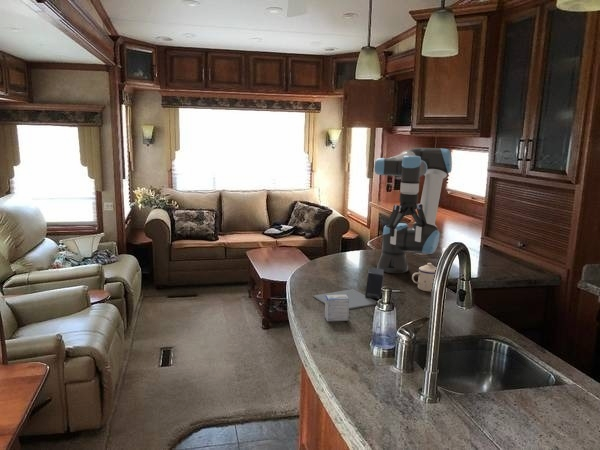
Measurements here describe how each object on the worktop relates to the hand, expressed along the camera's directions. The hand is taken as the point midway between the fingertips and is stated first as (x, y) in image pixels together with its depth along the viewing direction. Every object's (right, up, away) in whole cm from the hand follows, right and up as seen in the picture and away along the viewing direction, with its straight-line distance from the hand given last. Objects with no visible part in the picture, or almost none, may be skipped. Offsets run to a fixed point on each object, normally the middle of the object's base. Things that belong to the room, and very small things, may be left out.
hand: (405, 242), depth 202 cm
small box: (-14, -22, -3) cm, 26 cm away
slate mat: (-26, -23, -10) cm, 36 cm away
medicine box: (-32, -27, -29) cm, 51 cm away
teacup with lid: (+10, -21, +8) cm, 25 cm away
